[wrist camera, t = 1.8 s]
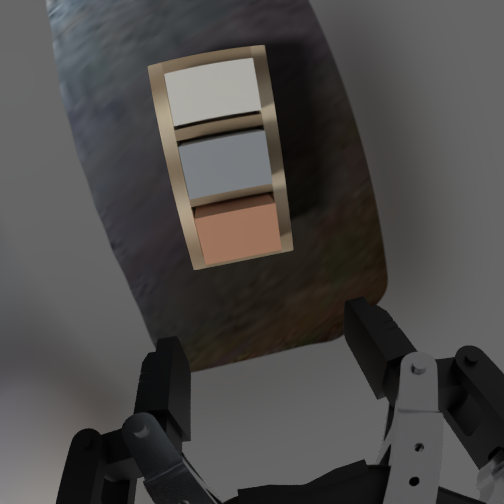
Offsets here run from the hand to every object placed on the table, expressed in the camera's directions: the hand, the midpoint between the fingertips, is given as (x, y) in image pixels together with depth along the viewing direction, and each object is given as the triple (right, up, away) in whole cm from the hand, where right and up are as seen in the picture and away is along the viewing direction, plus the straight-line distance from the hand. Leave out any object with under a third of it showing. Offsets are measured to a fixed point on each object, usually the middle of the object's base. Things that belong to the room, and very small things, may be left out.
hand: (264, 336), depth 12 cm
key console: (-3, +12, +14) cm, 19 cm away
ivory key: (-3, +15, +7) cm, 17 cm away
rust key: (-2, +6, +12) cm, 13 cm away
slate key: (-3, +10, +10) cm, 14 cm away
